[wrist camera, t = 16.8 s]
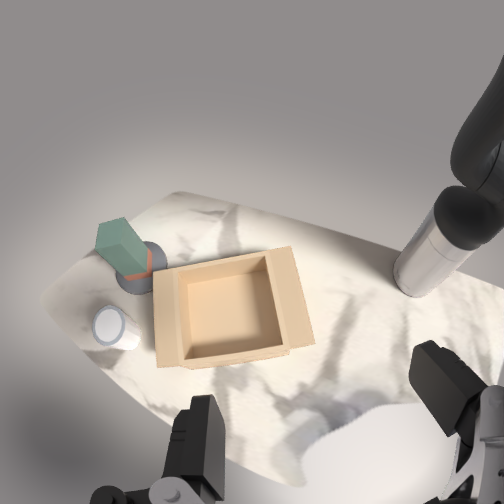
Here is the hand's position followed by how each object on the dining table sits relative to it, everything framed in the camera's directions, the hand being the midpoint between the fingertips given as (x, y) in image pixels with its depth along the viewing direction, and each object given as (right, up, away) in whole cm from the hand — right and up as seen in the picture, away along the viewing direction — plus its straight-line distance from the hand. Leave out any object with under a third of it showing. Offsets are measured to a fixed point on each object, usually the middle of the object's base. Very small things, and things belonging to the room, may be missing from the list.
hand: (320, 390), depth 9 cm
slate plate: (-24, +2, +41) cm, 48 cm away
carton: (-6, -6, +35) cm, 36 cm away
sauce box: (-24, +2, +40) cm, 47 cm away
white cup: (-25, -10, +35) cm, 44 cm away
